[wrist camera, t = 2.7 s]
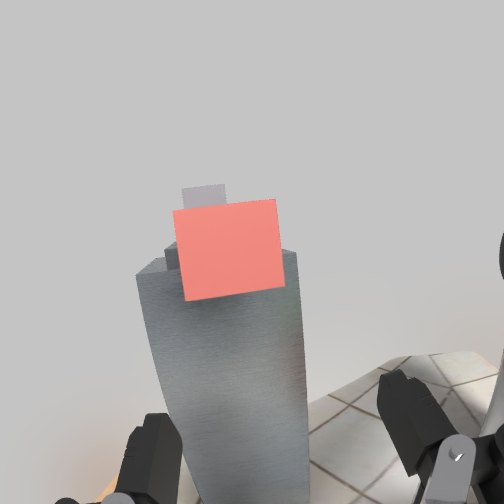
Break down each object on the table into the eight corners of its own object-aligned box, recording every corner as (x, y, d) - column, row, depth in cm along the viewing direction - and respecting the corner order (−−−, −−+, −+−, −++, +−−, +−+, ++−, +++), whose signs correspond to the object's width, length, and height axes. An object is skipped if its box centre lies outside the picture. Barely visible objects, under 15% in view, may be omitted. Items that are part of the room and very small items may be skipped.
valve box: (283, 453, 38) (259, 230, 34) (309, 506, 26) (293, 232, 22) (206, 467, 35) (154, 244, 32) (214, 526, 24) (132, 254, 20)
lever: (224, 247, 36) (217, 193, 35) (285, 285, 12) (266, 126, 11) (191, 252, 35) (184, 197, 34) (185, 301, 11) (166, 135, 11)
